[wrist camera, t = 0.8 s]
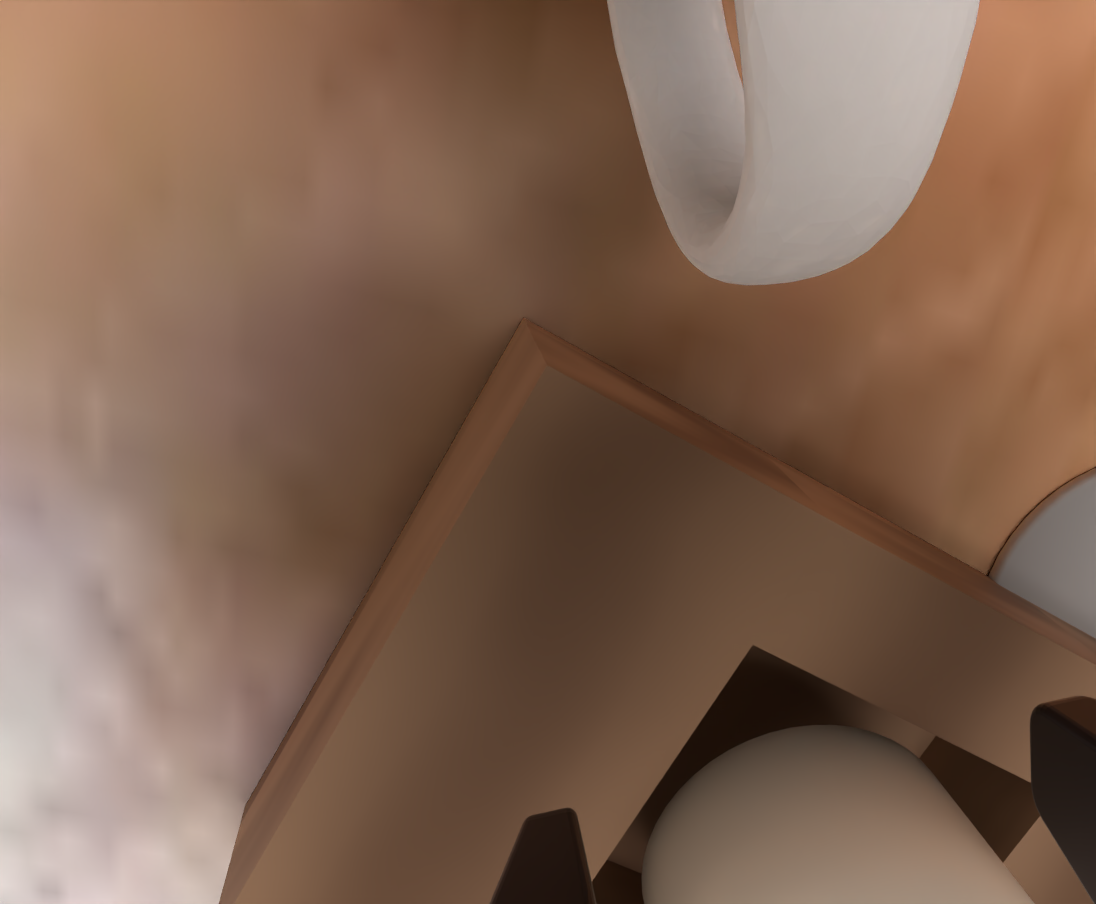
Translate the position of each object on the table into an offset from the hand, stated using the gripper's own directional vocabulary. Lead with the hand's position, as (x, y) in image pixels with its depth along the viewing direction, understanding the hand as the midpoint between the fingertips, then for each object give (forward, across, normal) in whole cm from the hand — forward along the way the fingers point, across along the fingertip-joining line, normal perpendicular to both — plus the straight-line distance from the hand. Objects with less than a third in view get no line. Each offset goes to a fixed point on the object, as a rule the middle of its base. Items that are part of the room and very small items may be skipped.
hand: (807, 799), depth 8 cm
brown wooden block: (+12, -2, +8) cm, 15 cm away
